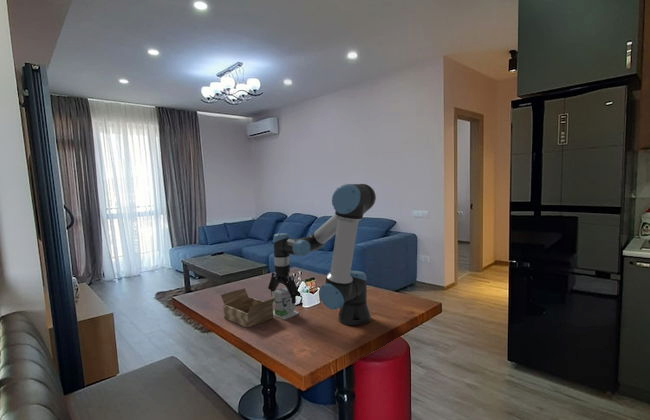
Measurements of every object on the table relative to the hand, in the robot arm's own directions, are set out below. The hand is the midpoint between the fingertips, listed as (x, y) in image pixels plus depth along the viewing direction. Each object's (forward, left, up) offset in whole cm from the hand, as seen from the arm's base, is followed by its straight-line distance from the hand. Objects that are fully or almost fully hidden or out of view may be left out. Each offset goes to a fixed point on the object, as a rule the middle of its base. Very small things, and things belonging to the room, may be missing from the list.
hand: (283, 306), depth 170 cm
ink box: (0, 0, -3) cm, 3 cm away
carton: (+10, +14, -4) cm, 18 cm away
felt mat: (0, 0, -4) cm, 4 cm away
